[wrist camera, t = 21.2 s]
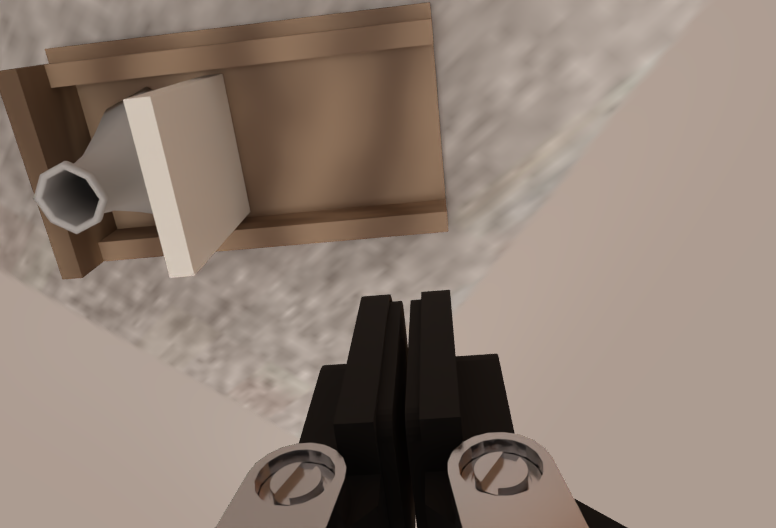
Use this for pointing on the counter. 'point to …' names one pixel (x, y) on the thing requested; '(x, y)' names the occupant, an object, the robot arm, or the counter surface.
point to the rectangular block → (189, 168)
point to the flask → (96, 177)
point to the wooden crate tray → (261, 126)
